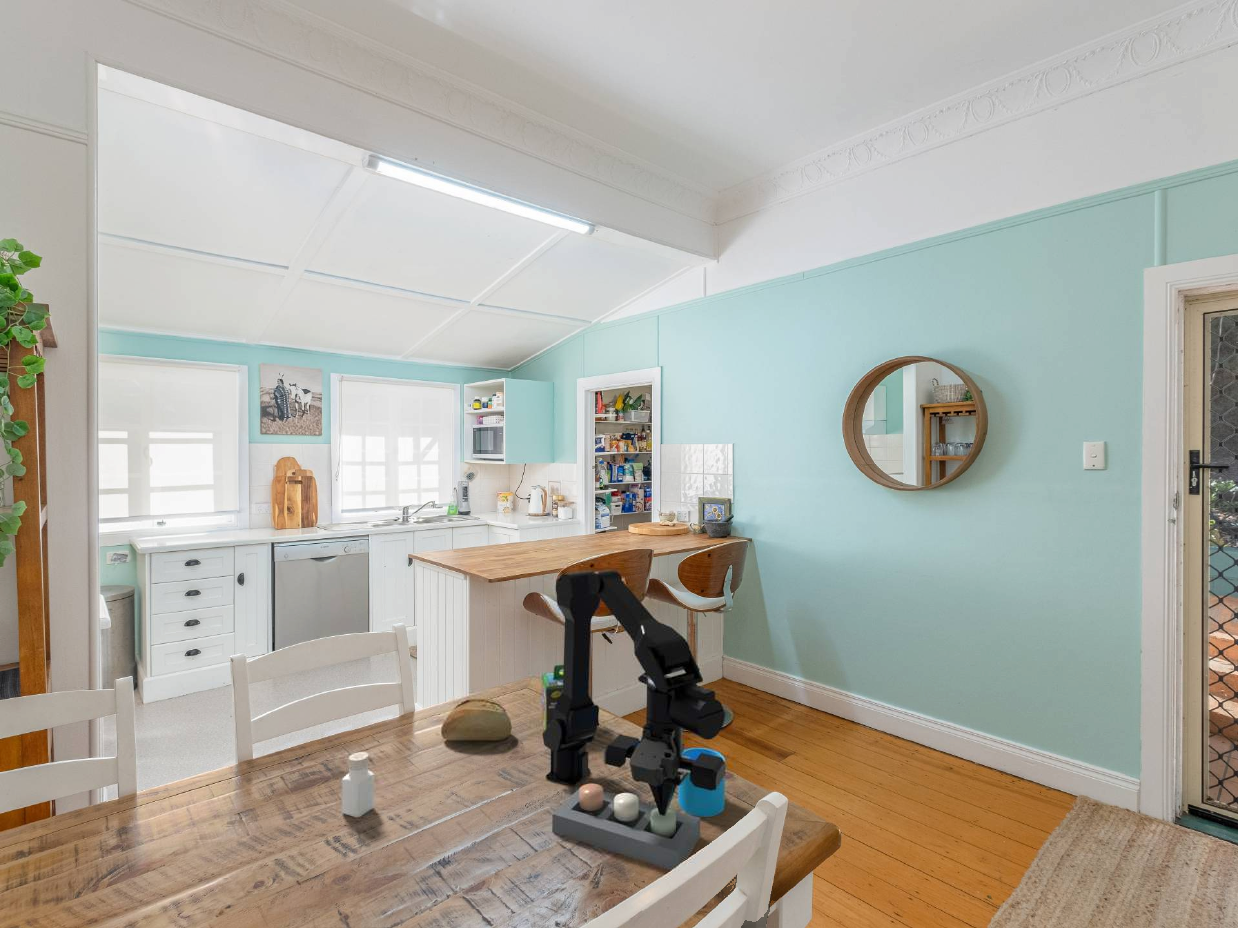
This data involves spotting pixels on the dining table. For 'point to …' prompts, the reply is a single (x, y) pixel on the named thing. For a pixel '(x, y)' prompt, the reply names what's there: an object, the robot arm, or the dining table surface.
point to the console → (627, 831)
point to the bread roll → (477, 721)
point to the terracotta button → (591, 797)
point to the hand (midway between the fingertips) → (663, 814)
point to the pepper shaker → (358, 786)
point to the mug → (701, 791)
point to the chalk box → (551, 693)
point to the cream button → (626, 806)
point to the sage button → (663, 823)
